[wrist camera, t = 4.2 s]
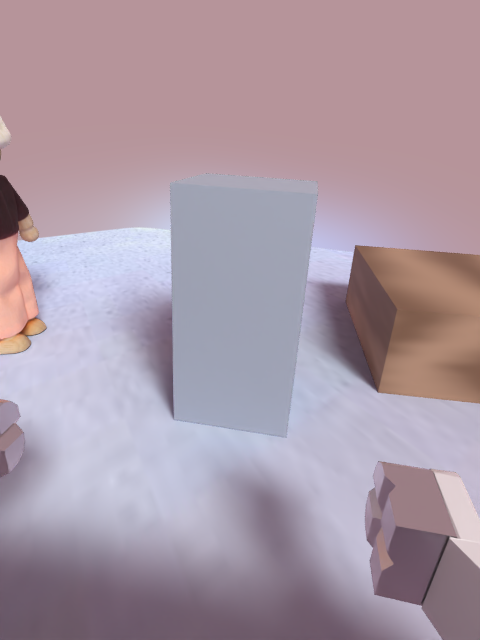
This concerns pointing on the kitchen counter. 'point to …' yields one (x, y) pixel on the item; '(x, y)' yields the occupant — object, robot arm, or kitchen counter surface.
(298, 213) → the slate pillar block
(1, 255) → the grandmother figurine
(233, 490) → the kitchen counter surface
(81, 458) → the kitchen counter surface
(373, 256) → the walnut block
